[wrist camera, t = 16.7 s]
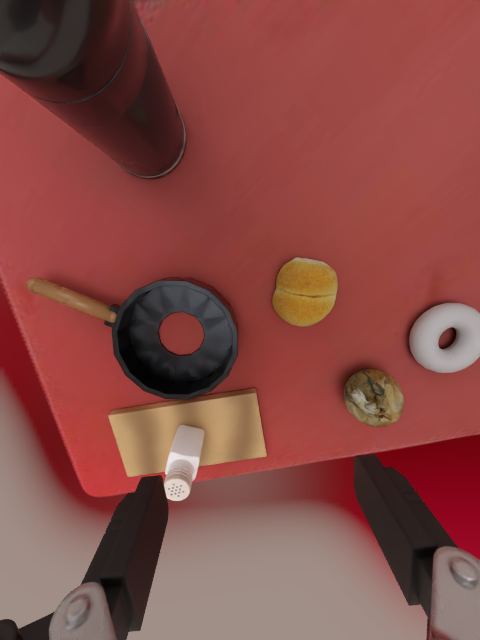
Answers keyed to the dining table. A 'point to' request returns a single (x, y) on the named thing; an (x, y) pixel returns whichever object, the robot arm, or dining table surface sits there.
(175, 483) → the pepper shaker
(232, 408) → the board
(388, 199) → the dining table surface
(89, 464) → the dining table surface
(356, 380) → the onion
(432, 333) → the donut
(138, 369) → the pan
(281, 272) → the bread roll
